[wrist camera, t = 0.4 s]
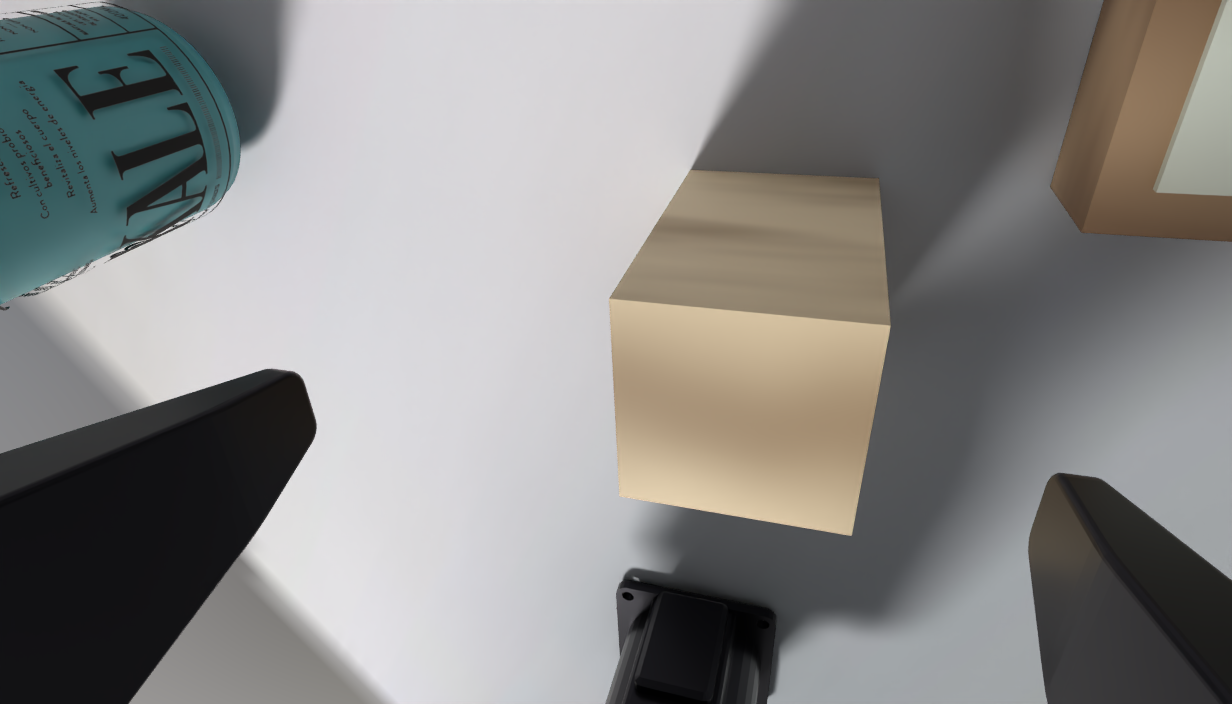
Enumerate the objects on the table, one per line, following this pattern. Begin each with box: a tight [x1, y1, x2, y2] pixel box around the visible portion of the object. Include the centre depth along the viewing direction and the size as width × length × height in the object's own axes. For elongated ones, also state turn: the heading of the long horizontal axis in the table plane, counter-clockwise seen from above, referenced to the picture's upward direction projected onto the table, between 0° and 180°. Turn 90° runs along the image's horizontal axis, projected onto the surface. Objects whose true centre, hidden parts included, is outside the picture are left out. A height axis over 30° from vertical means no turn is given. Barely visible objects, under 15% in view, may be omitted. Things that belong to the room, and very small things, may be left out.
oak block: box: [609, 170, 891, 536], centre depth 17 cm, size 5×5×8 cm
